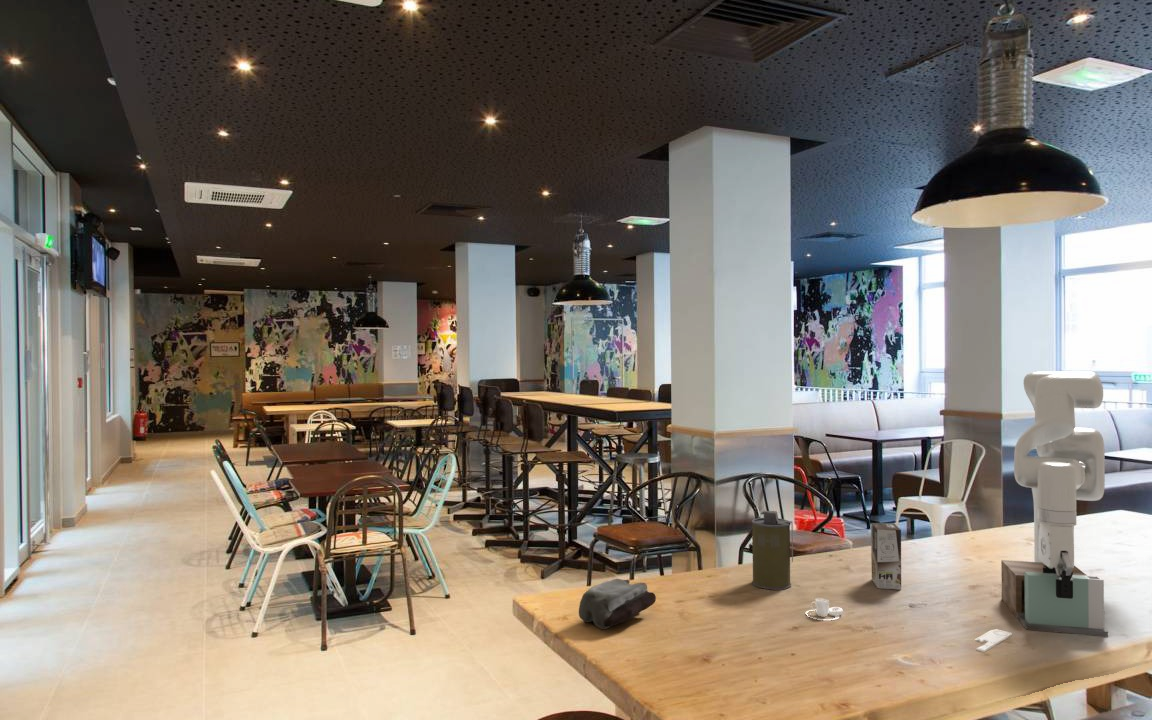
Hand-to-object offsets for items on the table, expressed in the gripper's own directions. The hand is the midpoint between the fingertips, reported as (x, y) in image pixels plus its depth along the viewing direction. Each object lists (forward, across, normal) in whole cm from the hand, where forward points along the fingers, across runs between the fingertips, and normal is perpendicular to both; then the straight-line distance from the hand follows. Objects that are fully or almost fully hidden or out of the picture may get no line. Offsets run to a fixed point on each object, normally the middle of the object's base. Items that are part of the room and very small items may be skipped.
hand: (1057, 591), depth 175 cm
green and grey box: (+7, 0, +1) cm, 8 cm away
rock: (+9, +21, -98) cm, 101 cm away
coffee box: (+9, -26, -34) cm, 44 cm away
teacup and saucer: (+9, +6, -49) cm, 50 cm away
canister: (+9, -18, -64) cm, 67 cm away
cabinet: (+8, -8, +1) cm, 12 cm away
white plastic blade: (+9, +12, -17) cm, 23 cm away
